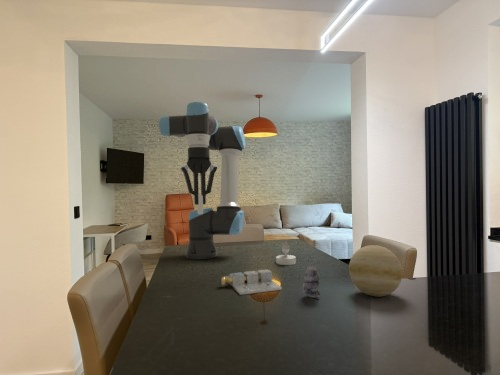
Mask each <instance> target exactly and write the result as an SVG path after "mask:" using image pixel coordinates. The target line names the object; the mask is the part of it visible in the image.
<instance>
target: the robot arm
mask: <svg viewBox="0 0 500 375" xmlns="http://www.w3.org/2000/svg"><path fill="white" fill-rule="evenodd" d="M158 130H159V132H160V135H162V136H164V137H177V138H180V139H182V140H185V141H187V147H188V148H187V161H186V164H185V165H184V166H182V167H180V171H181V172H182V173H183V176H184V180H185V183H186V188H187V190H188V194H190V195H193V196H194V197H193V200H194V205H195V206H196V205H197V209H194V210H191V211H190V212H188V220H187V221H188V244H187V247H186V250H185V258H186V259H188V260H207V259H209V260H210V259H213V258H216V257H217V256H218V250H217V247H216V244H215V240H214V236H238V235H240V234H241V233H242V231H243V229H244V223H245V211H244V210H242V207H241V206H240V204H239V168H240V167H239V163H240V156H241V155H242V153H243V151H244V150H245V149H246V145H247V144H246V137H245V134H244V131H243V127H241V126H240V125H239V126H237V125H236V126H235V125H231V126H219V122H218V120H217V119H216V118H215V116H213V115H211V114H210V110H209V105H208V104H207V103H206V102H201V101H191V102H189V103H187V105H186V114H183V115H167V116H166V115H165V116H161V117H160V118H159V121H158ZM210 151H218V154H219V155H220V156H221V165H220V166H221V168H220V170H221V171H220V192H219V193H220V195H219V196H220V197H219V201H220V202H219V203H218V205H217V206H216V210H214V208H213V207H207V208H204V205H206V204H207V202H206V200H207V199H206V198H207V197H206V195H208V194H211V192H212V187H213V182H214V178H215V173H216V171H217V170H218V166H215V165H214V164H212V162H211V160H210V159H211V158H210ZM189 170H190V171H191V172H192V176H193V185H192V182H191V179H190V178H191V177H190V174H189ZM208 170H209V171H210V172H209V176H208V180H207V183H206V173H207V171H208ZM199 174H200V194H199Z"/></svg>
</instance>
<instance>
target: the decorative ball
mask: <svg viewBox="0 0 500 375" xmlns="http://www.w3.org/2000/svg"><path fill="white" fill-rule="evenodd" d="M348 272H349V277H350V279H351V281H352V283H353V285H354V286H355V287H356V289H358V290H359V291H360V292H362V293H363V294H365V295H368V296H370V297H371V296H372V297H386V296H388V295H391V294H392V293H393V292H395V291H396V290H397V289H398V288H399V287H400V284H401V282H402V278H403V268H402V264H401V262H400V259H399V258H398V256H396V254H395V253H394V252H392V250H390V249H388V248H387V247H384V246H381V245H376V244H375V245H374V244H370V245H366V246H363V247H360V248H359V249H358V250H357V251H355V252H354V253H353V254H352V256H351V258H350V261H349V264H348Z"/></svg>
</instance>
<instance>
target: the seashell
mask: <svg viewBox="0 0 500 375" xmlns="http://www.w3.org/2000/svg"><path fill="white" fill-rule="evenodd" d="M319 272H320V271H318V269H317V268H316V267H315V266H314V265H313V264H310V265H309V266H305V270H304V273H305V274H304V275H303V280H304V282H303V283H302V292H303V293H304V294H305V296H307V297H309V298H318V297H321V292H320V290H319V289H317V288H318V287H319V285H320V281H319V280H320V279H321V278H320V273H319ZM315 289H316V290H315Z"/></svg>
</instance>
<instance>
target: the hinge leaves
mask: <svg viewBox="0 0 500 375" xmlns="http://www.w3.org/2000/svg"><path fill="white" fill-rule="evenodd" d="M259 274H260V276H261V280H258V275H259ZM244 276H247V281H246V282H244ZM223 277H225V278H232V283H228V284H229V285H230V286H231V288H233V290H235V291H236V292H237V293H238V294H239V296H242V295H244V296H245V295H250V294H259V293H266V292H272V291H273V292H274V291H281V290H282V286H281V285H279V284H277V283H276V282H275V281H273V272H272V271H271V270H270V269H260V270H250V271H247V270H246V271H243V272H241V271H240V272H238V271H237V272H231V273H229V275H223Z"/></svg>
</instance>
